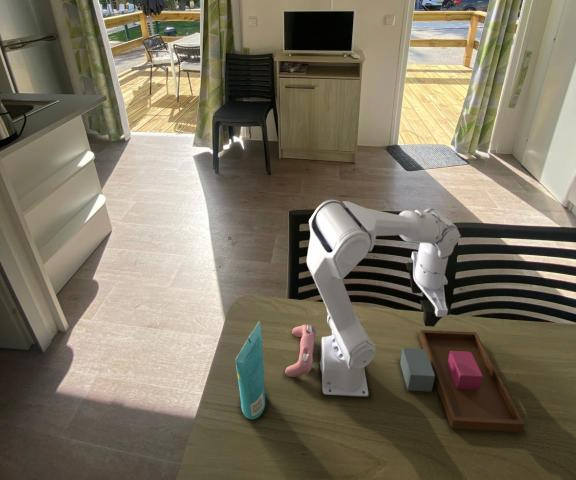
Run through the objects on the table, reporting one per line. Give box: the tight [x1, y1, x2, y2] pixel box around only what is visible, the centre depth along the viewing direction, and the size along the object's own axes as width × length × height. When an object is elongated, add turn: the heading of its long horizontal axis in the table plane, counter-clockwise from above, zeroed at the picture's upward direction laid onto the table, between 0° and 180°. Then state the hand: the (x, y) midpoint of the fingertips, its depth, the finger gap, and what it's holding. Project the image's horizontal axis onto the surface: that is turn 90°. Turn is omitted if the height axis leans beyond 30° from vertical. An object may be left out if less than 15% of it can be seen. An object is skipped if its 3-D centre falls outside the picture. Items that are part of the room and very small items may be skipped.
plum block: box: [447, 351, 483, 390], centre depth 63 cm, size 4×4×4 cm
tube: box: [234, 320, 266, 420], centre depth 57 cm, size 7×5×19 cm, turn 156°
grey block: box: [399, 347, 435, 392], centre depth 64 cm, size 5×5×5 cm
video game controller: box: [284, 323, 317, 378], centre depth 68 cm, size 10×5×7 cm, turn 168°
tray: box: [419, 329, 525, 433], centre depth 64 cm, size 13×16×3 cm
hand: (422, 307), depth 69 cm, fingers open, 7 cm apart
